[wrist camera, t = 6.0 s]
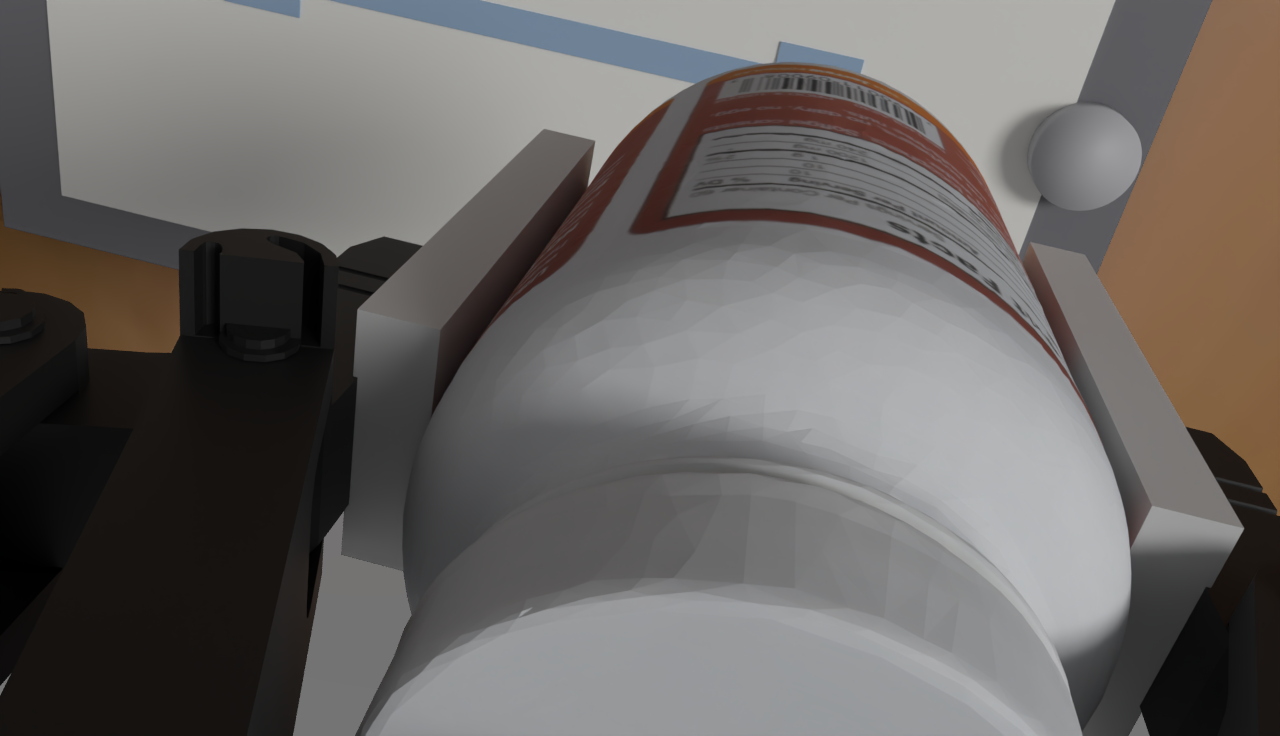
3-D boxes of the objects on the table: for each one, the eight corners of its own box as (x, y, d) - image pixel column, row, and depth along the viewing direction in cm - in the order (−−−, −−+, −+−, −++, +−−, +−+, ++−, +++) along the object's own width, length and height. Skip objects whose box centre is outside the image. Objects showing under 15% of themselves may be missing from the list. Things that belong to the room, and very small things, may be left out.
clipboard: (-58, -537, 24) (-108, -557, 22) (1314, -266, 22) (1342, -273, 20) (18, 220, 32) (-15, 235, 31) (1008, 464, 30) (1015, 491, 29)
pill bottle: (696, 488, 18) (524, 1247, 8) (514, 169, 16) (8, 674, 6) (1063, 356, 16) (1405, 1168, 6) (903, -31, 14) (1039, 270, 4)
